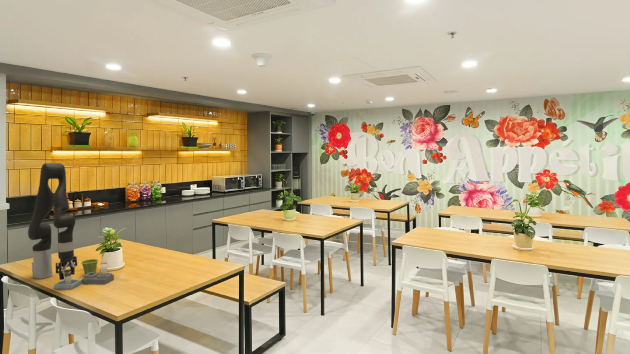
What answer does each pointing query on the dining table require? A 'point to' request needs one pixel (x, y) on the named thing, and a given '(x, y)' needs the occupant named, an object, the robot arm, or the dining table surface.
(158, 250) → the dining table surface
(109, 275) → the fuse block
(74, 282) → the parts tray
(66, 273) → the fuse
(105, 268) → the fuse
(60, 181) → the robot arm
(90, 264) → the plant pot
